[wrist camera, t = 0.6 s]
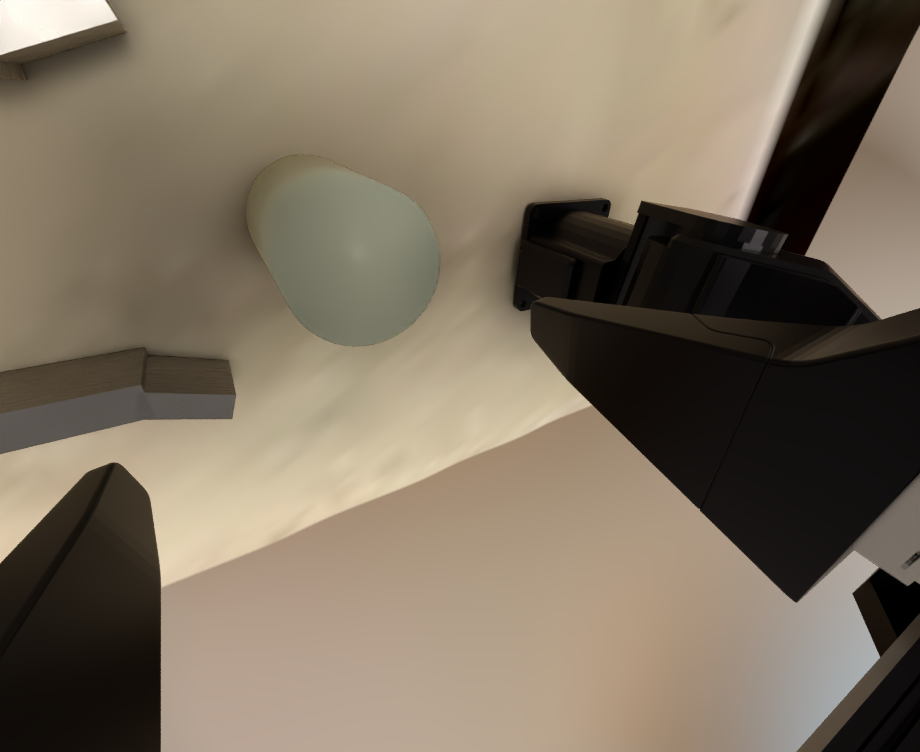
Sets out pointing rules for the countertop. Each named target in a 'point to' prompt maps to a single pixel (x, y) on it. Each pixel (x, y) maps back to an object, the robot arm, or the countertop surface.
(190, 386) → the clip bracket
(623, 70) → the countertop surface
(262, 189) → the grey rounded piece
